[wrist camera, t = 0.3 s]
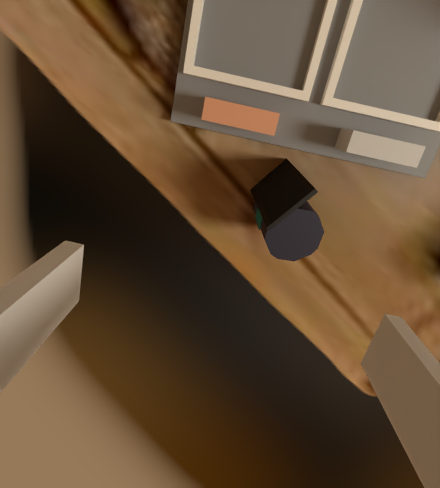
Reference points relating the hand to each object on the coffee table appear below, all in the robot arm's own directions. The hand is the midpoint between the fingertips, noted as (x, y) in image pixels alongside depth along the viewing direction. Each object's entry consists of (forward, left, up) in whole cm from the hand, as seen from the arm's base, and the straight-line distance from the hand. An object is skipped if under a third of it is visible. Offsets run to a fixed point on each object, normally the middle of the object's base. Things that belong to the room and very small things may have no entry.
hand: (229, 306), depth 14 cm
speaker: (+1, +6, -26) cm, 27 cm away
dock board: (-14, +6, -26) cm, 30 cm away
